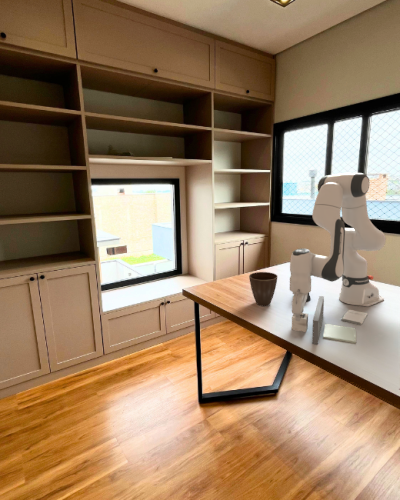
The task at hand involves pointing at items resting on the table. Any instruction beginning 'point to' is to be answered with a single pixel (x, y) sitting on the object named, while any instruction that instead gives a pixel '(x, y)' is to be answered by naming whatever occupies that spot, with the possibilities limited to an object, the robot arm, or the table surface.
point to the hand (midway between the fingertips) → (299, 316)
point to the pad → (339, 333)
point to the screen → (318, 320)
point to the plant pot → (263, 287)
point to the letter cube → (300, 322)
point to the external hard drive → (354, 317)
